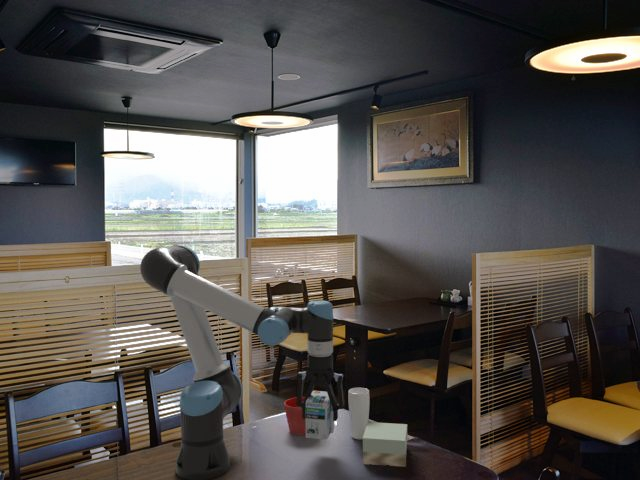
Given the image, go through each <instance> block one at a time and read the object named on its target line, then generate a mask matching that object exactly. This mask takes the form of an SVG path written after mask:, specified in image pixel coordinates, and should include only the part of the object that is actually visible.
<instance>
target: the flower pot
mask: <svg viewBox="0 0 640 480" xmlns="http://www.w3.org/2000/svg"><path fill="white" fill-rule="evenodd" d="M305 397H306V396H302V401H303V402H304V399H305ZM296 399H297V396H296V397H291V398H289V399H286V400H284V403H283V406H284V411H285V415H286V416H285V417H286V420H287V421H286V422H287V426H288V430H289V433H291V434H292V435H297V436H306V419H303V418H302V408H301V407H300V406H296Z"/></svg>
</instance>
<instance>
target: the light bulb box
mask: <svg viewBox="0 0 640 480" xmlns="http://www.w3.org/2000/svg"><path fill="white" fill-rule="evenodd" d="M331 409H332V405H331V402H330V399H329V396H328V393H327V391H323V390H322V391H321V390H313V391H312V394H311V396H310V397H309V398H308V399H307V401H306V435H305V438H306V439H307V438H308V439H316V440H317V439H318V440H324V441H325V440H326V441H327V440H329V437H330V435H331V433H330V423H331Z"/></svg>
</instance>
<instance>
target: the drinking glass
mask: <svg viewBox="0 0 640 480" xmlns="http://www.w3.org/2000/svg"><path fill="white" fill-rule="evenodd" d="M347 396H348V397H347V398H348V402H347V403H348V411H349V423H350V436H351V438H353V439H355V440H363V435H364V432H365V429H366V426H367V422H369V418H370V417H369V416H370V404H371V403H370V390H369V389H368V388H365V387H352V388H350V389H348V395H347Z"/></svg>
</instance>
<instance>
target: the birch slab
mask: <svg viewBox="0 0 640 480" xmlns="http://www.w3.org/2000/svg"><path fill="white" fill-rule="evenodd" d="M407 447H408V446H407V445H406V452H407ZM362 464H363V465H370V464H371V466H372V465H374V466H375V465H376V466H386V465H389V466H390V467H405V468H406V467H407V453H406V454H405V455H402V454H388V453H373V452H363V451H362Z"/></svg>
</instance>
